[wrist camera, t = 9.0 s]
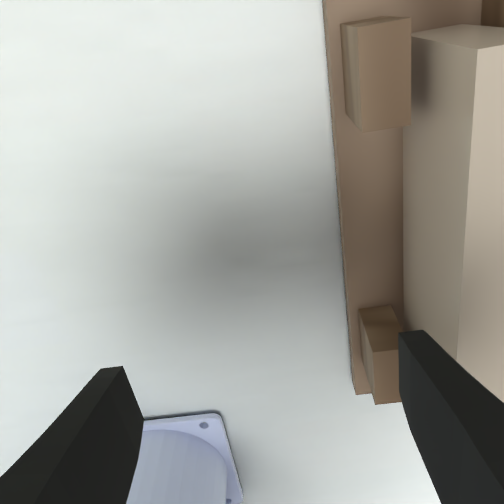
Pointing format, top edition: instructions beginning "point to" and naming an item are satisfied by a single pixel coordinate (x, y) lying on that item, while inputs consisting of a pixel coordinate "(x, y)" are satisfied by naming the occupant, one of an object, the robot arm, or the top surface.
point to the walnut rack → (378, 162)
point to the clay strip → (456, 197)
